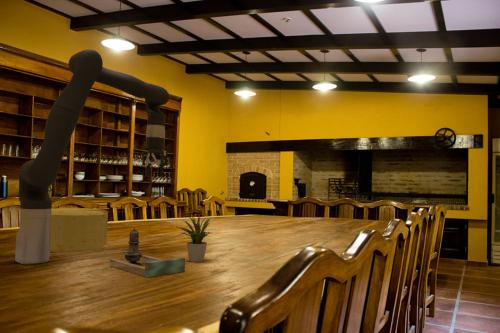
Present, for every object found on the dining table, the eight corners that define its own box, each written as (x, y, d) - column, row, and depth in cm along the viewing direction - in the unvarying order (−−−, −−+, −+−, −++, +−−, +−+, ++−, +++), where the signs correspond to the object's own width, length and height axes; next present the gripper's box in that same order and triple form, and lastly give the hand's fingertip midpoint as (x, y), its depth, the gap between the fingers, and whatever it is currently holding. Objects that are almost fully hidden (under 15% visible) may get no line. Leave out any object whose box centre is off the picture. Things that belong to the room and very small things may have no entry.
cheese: (122, 246, 175) (123, 210, 175) (65, 254, 153) (67, 212, 153) (82, 240, 189) (83, 207, 189) (24, 247, 167) (26, 209, 167)
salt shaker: (139, 266, 134) (140, 228, 135) (120, 266, 134) (122, 228, 135) (144, 263, 140) (145, 227, 140) (126, 262, 140) (128, 226, 141)
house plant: (194, 255, 159) (195, 211, 159) (224, 259, 151) (226, 213, 152) (168, 260, 146) (170, 213, 147) (200, 265, 139) (202, 215, 140)
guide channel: (147, 277, 119) (148, 263, 120) (109, 265, 134) (110, 253, 134) (184, 271, 129) (185, 258, 129) (145, 261, 144) (145, 249, 144)
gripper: (137, 137, 174) (136, 176, 174) (158, 135, 165) (156, 176, 164) (153, 138, 180) (151, 176, 179) (173, 137, 170) (172, 177, 169)
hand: (153, 176), depth 171 cm, fingers open, 8 cm apart
